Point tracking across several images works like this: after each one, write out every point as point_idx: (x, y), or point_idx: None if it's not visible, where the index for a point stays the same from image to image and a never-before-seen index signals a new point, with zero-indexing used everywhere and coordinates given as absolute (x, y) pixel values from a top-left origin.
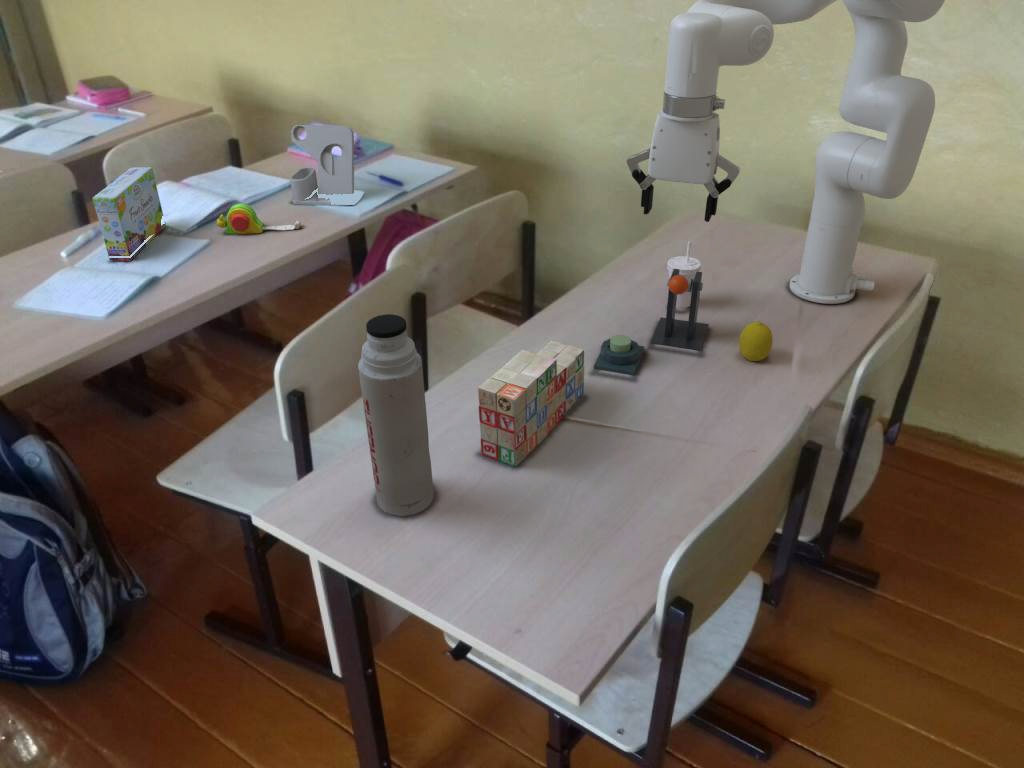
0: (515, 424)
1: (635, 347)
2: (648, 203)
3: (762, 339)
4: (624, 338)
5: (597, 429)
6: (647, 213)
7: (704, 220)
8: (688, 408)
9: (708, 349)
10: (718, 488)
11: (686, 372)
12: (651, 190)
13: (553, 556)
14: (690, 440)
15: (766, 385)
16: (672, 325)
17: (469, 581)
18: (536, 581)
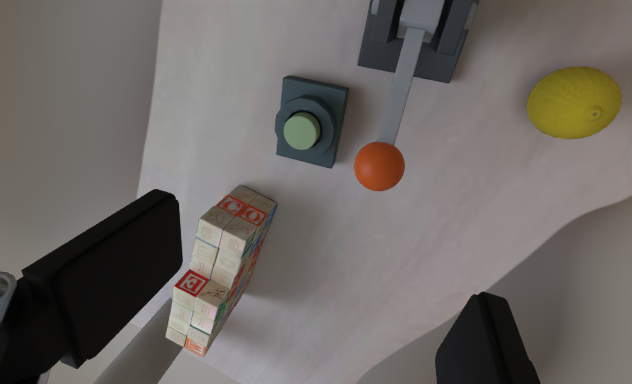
0: (219, 331)
1: (327, 130)
2: (143, 304)
3: (579, 138)
4: (304, 127)
5: (301, 253)
6: (178, 265)
7: (436, 355)
8: (404, 222)
9: (471, 53)
10: (416, 332)
11: (414, 137)
12: (86, 323)
13: (290, 365)
14: (398, 274)
15: (545, 168)
16: (401, 11)
17: (248, 370)
18: (284, 377)
